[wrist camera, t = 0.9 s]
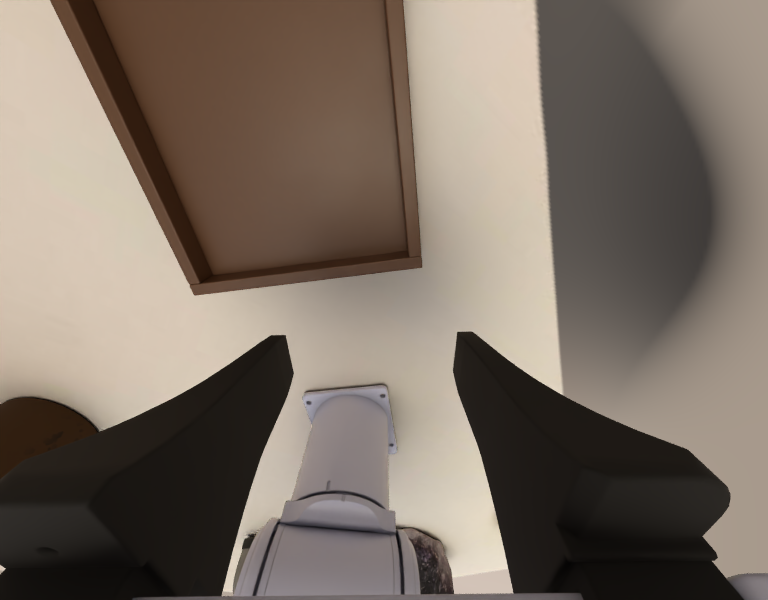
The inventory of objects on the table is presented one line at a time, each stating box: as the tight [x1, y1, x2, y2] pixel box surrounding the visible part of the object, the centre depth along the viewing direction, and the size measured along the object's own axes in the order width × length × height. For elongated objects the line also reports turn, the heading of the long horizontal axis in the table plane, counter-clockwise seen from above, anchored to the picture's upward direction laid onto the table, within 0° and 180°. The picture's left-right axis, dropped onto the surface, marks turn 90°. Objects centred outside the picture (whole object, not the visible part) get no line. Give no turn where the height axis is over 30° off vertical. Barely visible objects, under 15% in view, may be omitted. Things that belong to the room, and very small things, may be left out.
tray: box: [50, 0, 422, 295], centre depth 15 cm, size 19×16×2 cm
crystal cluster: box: [402, 528, 454, 594], centre depth 36 cm, size 13×14×10 cm
